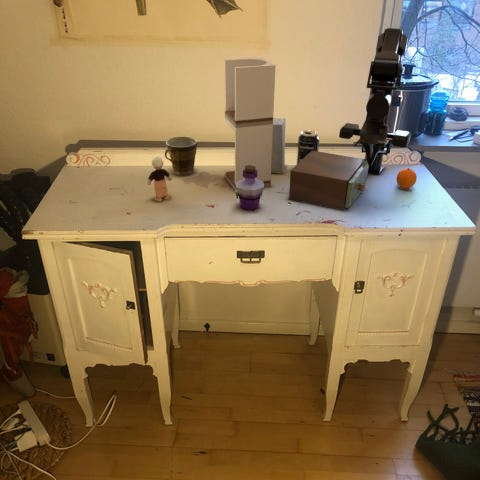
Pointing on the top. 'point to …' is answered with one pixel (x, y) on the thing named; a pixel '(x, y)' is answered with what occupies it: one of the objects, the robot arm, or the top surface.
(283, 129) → the cosmetic box
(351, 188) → the drawer
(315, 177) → the cabinet
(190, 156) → the ceramic cup
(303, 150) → the beverage can
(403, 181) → the orange
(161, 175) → the grandmother figurine
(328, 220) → the top surface
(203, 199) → the top surface
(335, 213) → the top surface
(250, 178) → the potion bottle
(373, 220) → the top surface
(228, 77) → the white tower
